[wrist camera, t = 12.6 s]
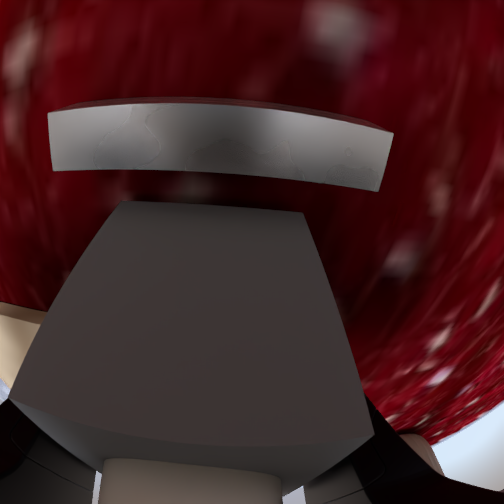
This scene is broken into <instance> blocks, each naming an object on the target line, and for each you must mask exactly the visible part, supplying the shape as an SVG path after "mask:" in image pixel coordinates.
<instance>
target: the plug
mask: <svg viewBox="0 0 504 504" xmlns="http://www.w3.org/2000/svg"><path fill="white" fill-rule="evenodd" d="M8 398H9V399H10V400H11V401H12V402H13V403H14V404H15V405H16V406H17V407H18V408H19V409H20V410H21V411H22V412H23V413H24V414H25V415H26V416H27V417H28V418H29V419H31V420H32V421H33V422H34V423H35V424H36V425H37V426H38V427H39V428H41V429H42V430H43V431H44V432H45V433H46V434H48V435H49V436H50V437H51V438H53V439H54V440H55V441H56V442H57V443H59V444H60V445H61V446H63V447H64V448H65V449H67V450H68V451H69V452H71V453H72V454H73V455H75V456H76V457H77V458H79V459H80V460H82V461H83V462H84V463H86V464H87V465H89V466H90V467H92V468H93V469H95V470H96V471H98V472H100V473H101V474H102V478H101V485H100V492H99V500H98V504H283V501H282V496H285V495H287V494H289V493H290V492H292V491H294V490H296V489H298V488H299V487H301V486H303V485H304V484H306V483H308V482H309V481H311V480H312V479H314V478H316V477H317V476H319V475H320V474H322V473H323V472H325V471H326V470H328V469H329V468H331V467H332V466H334V465H335V464H337V463H338V462H339V461H341V460H342V459H344V458H345V457H346V456H348V455H349V454H351V453H352V452H353V451H355V450H356V449H357V448H358V447H360V446H361V445H362V444H364V443H365V442H366V441H367V440H369V439H370V438H371V437H372V436H374V435H375V434H374V430H373V426H372V422H371V418H370V415H369V411H368V407H367V403H366V400H365V396H364V392H363V389H362V385H361V382H360V378H359V375H358V371H357V368H356V365H355V361H354V358H353V355H352V352H351V348H350V345H349V342H348V339H347V336H346V332H345V329H344V326H343V323H342V320H341V317H340V314H339V311H338V308H337V305H336V302H335V299H334V296H333V293H332V290H331V288H330V285H329V282H328V279H327V276H326V273H325V271H324V268H323V265H322V262H321V260H320V257H319V254H318V251H317V249H316V246H315V243H314V241H313V238H312V235H311V233H310V230H309V228H308V225H307V222H306V220H305V217H304V215H303V213H301V212H291V211H280V210H269V209H257V208H245V207H231V206H217V205H202V204H185V203H166V202H143V201H121V202H120V203H119V204H118V205H117V207H116V208H115V209H114V211H113V212H112V213H111V215H110V216H109V217H108V219H107V220H106V221H105V223H104V224H103V226H102V227H101V228H100V230H99V231H98V233H97V234H96V235H95V237H94V238H93V240H92V241H91V243H90V244H89V246H88V247H87V248H86V250H85V251H84V253H83V254H82V256H81V257H80V259H79V261H78V262H77V264H76V265H75V267H74V268H73V270H72V271H71V273H70V275H69V276H68V278H67V280H66V281H65V283H64V284H63V286H62V288H61V289H60V291H59V293H58V295H57V296H56V298H55V300H54V302H53V303H52V305H51V307H50V309H49V310H48V312H47V314H46V316H45V318H44V320H43V322H42V323H41V325H40V327H39V329H38V331H37V333H36V335H35V337H34V339H33V341H32V343H31V345H30V347H29V349H28V351H27V354H26V356H25V358H24V360H23V362H22V364H21V367H20V369H19V371H18V374H17V376H16V378H15V381H14V383H13V386H12V388H11V391H10V393H9V396H8Z"/></svg>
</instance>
